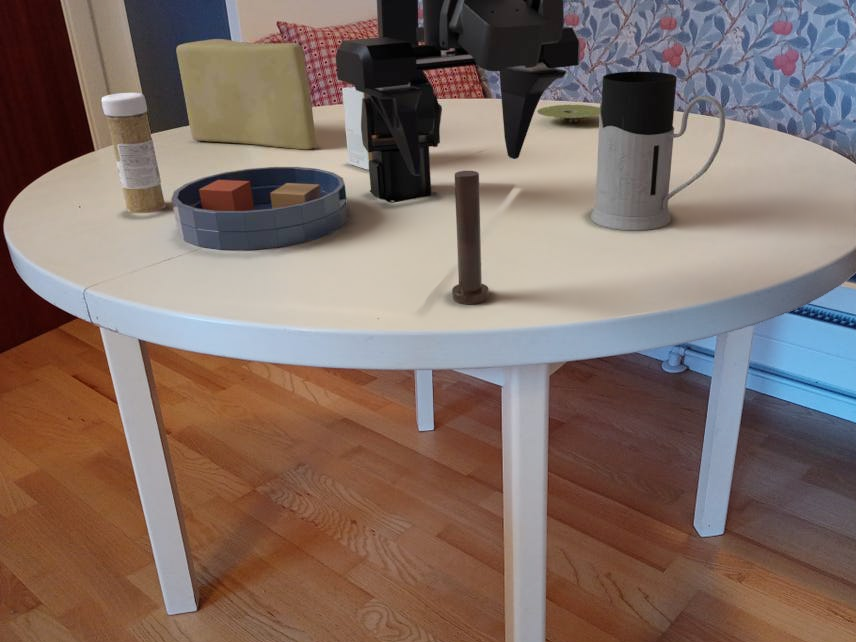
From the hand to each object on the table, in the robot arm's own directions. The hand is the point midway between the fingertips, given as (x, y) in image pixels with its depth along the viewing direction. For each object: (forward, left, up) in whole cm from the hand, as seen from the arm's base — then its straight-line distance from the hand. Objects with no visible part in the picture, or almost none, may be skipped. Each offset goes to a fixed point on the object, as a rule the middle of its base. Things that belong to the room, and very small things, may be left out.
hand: (465, 166), depth 67 cm
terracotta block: (+12, -33, -11) cm, 37 cm away
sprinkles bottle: (+19, -44, -12) cm, 49 cm away
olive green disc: (-52, -56, -12) cm, 77 cm away
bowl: (+9, -30, -12) cm, 33 cm away
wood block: (+6, -27, -11) cm, 30 cm away
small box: (-14, -49, -12) cm, 52 cm away
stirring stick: (0, 0, -12) cm, 12 cm away
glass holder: (-27, -7, -12) cm, 30 cm away
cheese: (-4, -73, -12) cm, 74 cm away
